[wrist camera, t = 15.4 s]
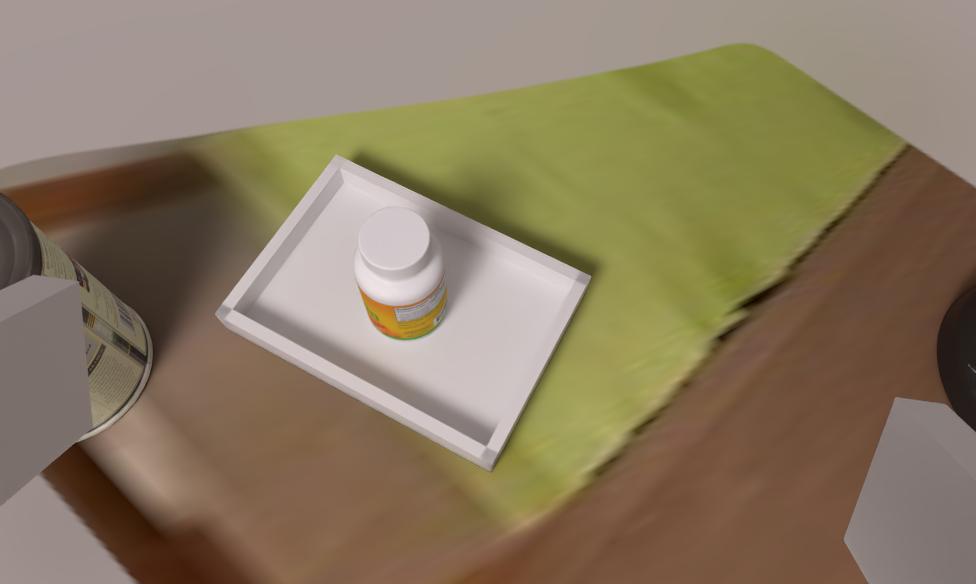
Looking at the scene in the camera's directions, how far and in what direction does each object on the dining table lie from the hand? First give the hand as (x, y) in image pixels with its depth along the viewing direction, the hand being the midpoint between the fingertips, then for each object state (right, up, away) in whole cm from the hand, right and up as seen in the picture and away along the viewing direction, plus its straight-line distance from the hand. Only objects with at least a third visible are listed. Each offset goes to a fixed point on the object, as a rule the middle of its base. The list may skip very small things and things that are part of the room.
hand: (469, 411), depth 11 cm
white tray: (-5, +1, +36) cm, 37 cm away
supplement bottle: (-5, +1, +36) cm, 36 cm away
